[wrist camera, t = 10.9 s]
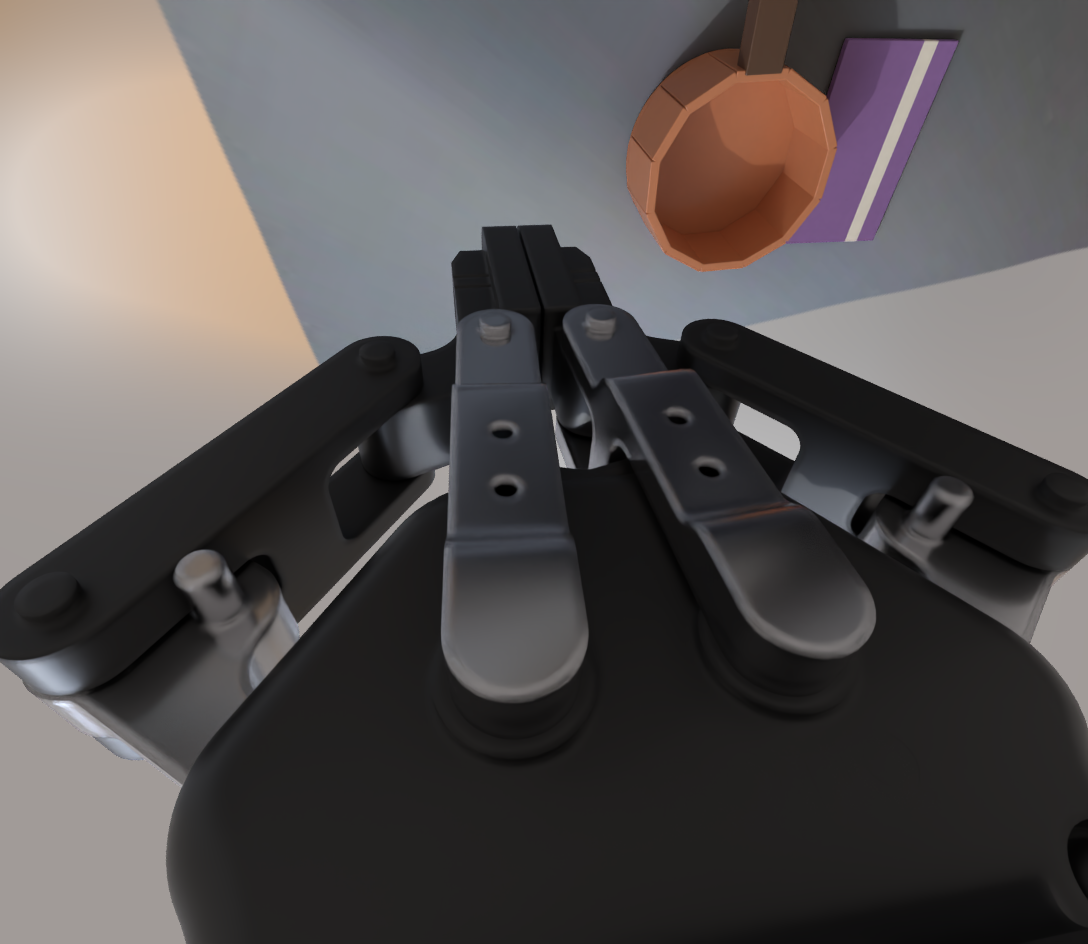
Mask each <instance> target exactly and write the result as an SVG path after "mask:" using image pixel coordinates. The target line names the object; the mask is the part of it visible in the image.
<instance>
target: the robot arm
mask: <svg viewBox="0 0 1088 944" xmlns="http://www.w3.org/2000/svg"><path fill="white" fill-rule="evenodd" d="M451 265H452V279H453V292H454V305H455V319H456V330H457V335H456V336H455V338H454V339H453V340H452V341H451V342H449V343H448V344H447V345H445V346H443V347H441V348H439V349H437V350H434V351H431V352H427V353H423V354H420V352H419V350H418V348H417V347H416V346H415V345H414V344H412V343H411V342H409V341H407V340H405V339H401V338H397V337H391V336H377V337H370V338H365V339H362V340H359V341H356V342H354V343H352V344H350V345H348V346H347V347H345V348H344V349H342V350H341V351H339V352H338V353H337V354H335V355H334V356H332V357H331V358H329V359H328V360H327V361H325V362H324V363H322V364H321V365H319V366H318V367H316V368H315V369H314V370H312V371H311V372H309V373H308V374H306V375H305V376H303V377H302V378H301V379H299V380H298V381H296V382H295V383H293V384H292V385H291V386H289V387H288V388H286V389H285V390H283V391H282V392H281V393H279V394H278V395H276V396H275V397H273V398H272V399H270V400H269V401H268V402H266V403H265V404H263V405H262V406H260V407H259V408H257V409H256V410H255V411H253V412H252V413H250V414H249V415H247V416H246V417H245V418H243V419H242V420H240V421H239V422H237V423H236V424H234V425H233V426H232V427H230V428H229V429H227V430H226V431H224V432H223V433H222V434H220V435H219V436H217V437H216V438H214V439H213V440H211V441H210V442H209V443H207V444H206V445H204V446H203V447H202V448H200V449H198V450H197V451H196V452H194V453H193V454H191V455H190V456H189V457H187V458H186V459H184V460H183V461H181V462H180V463H179V464H177V465H176V466H174V467H173V468H171V469H170V470H168V471H167V472H166V473H164V474H163V475H161V476H160V477H158V478H157V479H156V480H154V481H152V482H151V483H150V484H148V485H147V486H145V487H144V488H142V489H141V490H140V491H138V492H137V493H135V494H134V495H132V496H131V497H129V498H128V499H127V500H125V501H124V502H122V503H121V504H119V505H118V506H116V507H115V508H114V509H112V510H111V511H110V512H108V513H106V514H105V515H104V516H102V517H101V518H99V519H98V520H97V521H95V522H93V523H92V524H91V525H89V526H88V527H86V528H85V529H83V530H82V531H81V532H79V533H78V534H76V535H75V536H73V537H72V538H71V539H69V540H68V541H66V542H65V543H63V544H62V545H60V546H59V547H58V548H56V549H55V550H53V551H52V552H50V553H49V554H47V555H46V556H45V557H43V558H42V559H40V560H39V561H37V562H36V563H35V564H33V565H32V566H30V567H29V568H27V569H26V570H24V571H23V572H22V573H20V574H19V575H17V576H16V577H15V578H13V579H12V580H11V581H9V582H8V583H7V584H6V585H5V586H3V587H2V588H1V589H0V662H1V663H2V664H3V665H5V666H6V667H7V668H8V669H9V670H11V671H12V672H13V673H14V674H15V675H17V676H18V677H19V678H20V679H22V681H23V684H24V685H25V687H26V688H27V689H28V691H30V692H31V693H32V694H34V695H35V696H36V697H37V698H38V699H40V700H41V701H42V702H44V703H45V704H46V705H47V706H48V707H50V708H51V709H52V710H53V711H55V712H56V713H57V714H58V715H60V716H61V717H62V718H64V719H65V720H66V721H67V722H69V723H70V724H71V725H72V726H74V727H75V728H76V729H77V730H79V731H80V732H82V733H84V734H86V735H89V736H92V737H93V738H95V739H96V740H97V741H98V742H100V743H101V744H102V745H103V746H105V747H106V748H107V749H108V750H110V751H111V752H112V753H114V754H115V755H116V756H118V757H120V758H123V759H128V760H143V759H145V760H146V761H147V762H149V763H150V764H151V765H152V766H154V767H155V768H157V769H158V770H159V771H160V772H162V773H163V774H164V775H165V776H167V777H168V778H169V779H171V780H172V781H173V782H174V783H176V784H177V785H179V786H180V787H181V790H180V793H179V796H178V798H177V801H176V804H175V807H174V810H173V814H172V818H171V822H170V826H169V833H168V840H167V851H166V867H167V879H168V885H169V891H170V895H171V899H172V903H173V905H174V908H175V911H176V913H177V916H178V919H179V922H180V924H181V927H182V930H183V934H184V937H185V941H186V944H1088V728H1087V724H1086V721H1085V718H1084V716H1083V713H1082V711H1081V709H1080V707H1079V704H1078V702H1077V701H1076V699H1075V697H1074V695H1073V694H1072V692H1071V690H1070V689H1069V687H1068V685H1067V684H1066V683H1065V681H1064V680H1063V679H1062V677H1061V676H1060V675H1059V673H1058V672H1057V671H1056V669H1055V668H1054V667H1053V666H1052V665H1051V664H1050V663H1049V662H1048V661H1047V660H1046V658H1045V657H1044V656H1043V655H1042V654H1041V653H1039V652H1038V651H1037V650H1036V649H1035V648H1034V647H1033V646H1032V645H1031V644H1030V642H1031V639H1032V636H1033V633H1034V631H1035V628H1036V625H1037V623H1038V620H1039V617H1040V615H1041V612H1042V610H1043V607H1044V604H1045V602H1046V599H1047V596H1048V594H1049V591H1050V588H1051V586H1052V585H1054V584H1055V583H1056V582H1057V581H1058V580H1059V579H1060V578H1061V577H1062V576H1064V575H1065V574H1066V573H1067V572H1068V571H1069V570H1070V569H1071V568H1072V567H1073V566H1074V565H1076V564H1077V563H1078V562H1079V561H1080V560H1081V559H1082V558H1083V557H1085V555H1087V554H1088V479H1086V478H1084V477H1083V476H1081V475H1079V474H1077V473H1075V472H1073V471H1070V470H1068V469H1066V468H1064V467H1062V466H1059V465H1057V464H1055V463H1052V462H1050V461H1048V460H1046V459H1043V458H1041V457H1039V456H1037V455H1034V454H1032V453H1029V452H1027V451H1025V450H1023V449H1021V448H1018V447H1016V446H1014V445H1012V444H1009V443H1007V442H1005V441H1002V440H1000V439H998V438H996V437H993V436H991V435H989V434H986V433H984V432H982V431H980V430H977V429H975V428H973V427H971V426H968V425H966V424H964V423H962V422H959V421H957V420H955V419H952V418H950V417H948V416H946V415H943V414H941V413H938V412H936V411H934V410H932V409H930V408H927V407H925V406H923V405H920V404H918V403H916V402H914V401H911V400H909V399H907V398H905V397H902V396H900V395H898V394H896V393H893V392H891V391H889V390H886V389H884V388H882V387H879V386H877V385H875V384H873V383H871V382H868V381H866V380H864V379H861V378H859V377H857V376H855V375H852V374H850V373H848V372H846V371H843V370H841V369H839V368H836V367H834V366H832V365H830V364H827V363H825V362H823V361H820V360H818V359H816V358H814V357H811V356H809V355H807V354H805V353H802V352H800V351H798V350H796V349H793V348H791V347H789V346H786V345H784V344H782V343H779V342H777V341H775V340H773V339H770V338H768V337H766V336H764V335H761V334H759V333H757V332H755V331H752V330H750V329H748V328H746V327H743V326H741V325H739V324H736V323H733V322H730V321H725V320H719V319H702V320H697V321H694V322H692V323H690V324H688V325H687V326H686V327H685V328H684V329H683V332H682V336H681V340H680V341H675V340H668V339H661V338H654V337H649V336H646V335H645V334H644V332H643V331H642V329H641V328H640V326H639V324H638V323H637V321H636V320H635V319H634V317H633V316H632V315H631V314H629V313H628V312H626V311H624V310H622V309H620V308H617V307H614V306H612V304H611V301H610V299H609V297H608V295H607V293H606V291H605V289H604V286H603V284H602V282H600V278H599V276H598V274H597V272H596V269H595V267H594V265H593V263H592V261H591V259H590V257H589V256H587V255H586V254H585V253H583V252H582V251H581V250H579V249H578V248H577V247H560V245H559V242H558V240H557V237H556V235H555V232H554V230H553V227H552V225H523V226H518V227H517V228H516V226H494V227H482V250H477V251H460V252H459V253H458V254H457V256H456V257H455V258H454V260H453V261H452V263H451ZM740 403H743V404H745V405H747V406H749V407H751V408H753V409H755V410H757V411H759V412H761V413H763V414H765V415H767V416H769V417H771V418H773V419H775V420H777V421H779V422H780V423H782V424H784V425H787V426H788V427H790V428H791V429H792V430H793V431H794V432H795V433H796V434H797V436H798V438H799V441H800V451H799V454H798V455H797V458H796V460H795V461H793V460H791V459H789V458H787V457H785V456H783V455H782V454H780V453H778V452H776V451H774V450H772V449H770V448H768V447H767V446H764V445H763V444H761V443H759V442H757V441H755V440H753V439H751V438H750V437H748V436H746V435H744V434H742V433H740V432H738V431H737V430H736V429H735V427H734V426H733V424H734V421H735V418H736V415H737V412H738V409H739V406H740ZM551 410H555V411H556V415H557V416H556V431H555V433H554V426H553V420H552V413H551ZM555 436H556V439H557V443H558V445H559V448H560V451H561V453H562V456H563V459H564V461H565V463H566V466H567V468H562V467H560V466H559V460H558V453H557V446H556V440H555ZM357 447H358V448H359V452H358V453H357V454H356V455H355V456H354V457H353V458H351V459H350V460H349V461H348V462H347V463H346V464H345V465H344V466H342V467H341V468H340V469H339V470H338V471H337V472H335V473H334V474H333V475H332V476H331V474H332V472H333V470H334V469H335V467H336V466H337V465H338V463H339V462H340V461H342V460H343V459H344V458H345V457H346V456H347V455H348V454H350V453H351V452H352V451H353V450H354V449H356V448H357ZM447 465H449V493H446V494H444V495H441V496H439V497H438V498H436V499H434V500H432V501H430V502H428V503H427V504H425V505H424V506H422V507H421V508H419V509H418V510H416V511H415V512H414V513H413V514H412V515H411V516H409V517H408V518H407V519H406V520H405V521H404V522H403V523H402V524H401V525H400V526H399V527H398V528H397V530H395V532H394V533H393V534H392V535H391V536H390V537H389V538H388V539H387V541H386V542H385V543H384V544H383V545H382V546H381V547H380V548H379V550H378V551H377V552H376V553H375V554H374V555H373V556H372V557H371V559H370V560H369V561H368V562H367V563H366V564H365V565H364V567H363V568H362V569H361V570H360V571H359V572H358V573H357V574H356V575H355V577H354V578H353V579H352V580H351V581H350V582H349V583H348V584H347V586H346V587H345V588H344V589H343V590H342V591H341V592H340V594H339V595H338V596H337V597H336V598H335V599H334V600H333V601H332V603H331V604H330V605H329V606H328V607H327V608H326V609H325V610H324V612H323V613H322V614H321V615H320V616H319V617H318V618H317V620H316V621H315V622H314V623H313V624H312V625H311V626H310V627H309V628H308V630H307V631H306V632H305V633H304V634H303V635H302V636H301V637H300V639H299V628H298V625H297V624H298V623H299V622H300V621H301V620H302V618H303V617H304V616H305V615H306V614H307V613H308V612H309V611H310V610H311V609H312V608H313V607H314V606H315V605H316V604H317V603H318V602H319V601H320V600H321V599H322V598H323V597H324V596H325V594H327V593H328V591H329V590H330V589H331V588H332V587H333V586H334V585H335V584H336V583H337V582H338V581H339V580H340V579H341V578H342V577H343V576H344V575H345V574H346V573H347V572H348V571H349V570H350V569H351V568H352V567H353V565H354V564H355V563H356V562H357V561H358V560H359V559H360V558H361V557H362V556H363V555H364V554H365V553H366V552H367V551H368V550H369V549H370V548H371V547H372V546H373V545H374V544H375V543H376V542H377V541H378V540H379V538H380V537H381V536H382V535H383V534H384V533H385V532H386V531H387V530H388V529H389V528H390V527H391V526H392V525H393V524H394V523H395V522H396V521H397V520H398V519H399V518H400V517H401V515H403V514H404V512H405V511H406V510H407V509H408V508H409V507H410V506H411V505H412V504H413V503H414V502H415V501H416V500H417V499H418V498H419V497H420V496H421V495H422V494H423V493H424V492H425V491H426V490H427V489H428V488H429V486H430V485H431V483H432V482H433V480H434V477H435V470H436V469H439V468H441V467H444V466H447Z"/></svg>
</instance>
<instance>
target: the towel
mask: <svg viewBox="0 0 1088 944" xmlns="http://www.w3.org/2000/svg"><path fill="white" fill-rule="evenodd" d="M958 42H959V41H958V40H955V39H886V38H845V40H844V43H843V46H842V50H841V53H840V56H839V59H838V62H837V65H836V68H835V71H834V74H833V78H832V81H831V84H830V87H829V90H828V93H827V98H828V101H829V106H830V111H831V116H832V121H833V126H834V131H835V136H836V141H837V147H836V148H837V151H836V154H835V157H834V161H833V164H832V167H831V170H830V174H829V177H828V180H827V183H826V187H825V190H824V193H823V196H822V199H820V200H821V201H820V202H819V203H818V205H817V206H816V207H815V208H814V210H813V211H812V212H811V213H810V215H809V216H808V217H807V218H806V220H805V221H804V222H803V223H802V225H801V226H800V227H799V228H798V230H797V231H796V232H795V233H794V235H793V236H792V237H791V238H790V239H789V241H786V243H785V244H788V243H814V242H841V241H867V240H873V239H874V236H875V234H876V232H877V230H878V227H879V225H880V223H881V220H882V218H883V216H884V213H885V211H886V209H887V206H888V204H889V202H890V199H891V197H892V195H893V193H894V190H895V188H896V186H897V183H898V181H899V179H900V176H901V174H902V172H903V169H904V167H905V165H906V162H907V160H908V158H909V156H910V153H911V151H912V149H913V146H914V144H915V142H916V139H917V137H918V135H919V132H920V130H921V128H922V125H923V123H924V121H925V119H926V116H927V114H928V112H929V109H930V107H931V105H932V102H933V100H934V98H935V95H936V93H937V91H938V88H939V86H940V84H941V81H942V79H943V77H944V75H945V72H946V70H947V68H948V65H949V63H950V61H951V58H952V56H953V54H954V51H955V49H956V47H957V44H958Z"/></svg>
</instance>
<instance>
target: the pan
mask: <svg viewBox="0 0 1088 944" xmlns="http://www.w3.org/2000/svg"><path fill="white" fill-rule="evenodd" d="M797 4H798V0H749V3H748V8H747V14H746V19H745V25H744V30H743V36H742V41H741V47H740V49H729V48H728V49H721V50H715V51H712V52H708V53H705V54H702V55H700V56H698V57H696V58H693V59H691V60H690V61H688V62H686V63H685V64H683V65H682V66H680V67H679V68H677V69H676V70H675V71H674V72H672V73H671V74H670V75H669V76H668V77H667V78H666V79H665V80H664V81H663V82H662V83H661V84H660V85H659V86H658V87H657V88H656V90H655V91H654V92H653V93H652V94H651V96H650V97H649V99H648V100H647V102H646V103H645V105H644V107H643V108H642V110H641V112H640V114H639V116H638V118H637V120H636V122H635V125H634V128H633V130H632V133H631V137H630V141H629V145H628V151H627V158H626V173H627V186H628V187H627V188H628V190H629V192H630V194H631V197H632V199H633V202H634V204H635V205H636V207H637V209H638V211H639V213H640V215H641V217H642V219H643V221H644V223H645V225H646V226H647V228H648V229H649V231H650V232H651V234H652V235H653V237H654V238H655V240H656V242H657V243H658V245H659V246H660V248H661V249H662V251H663V252H664V253H665V254H666V255H668V256H670V257H672V258H674V259H676V260H678V261H680V262H682V263H683V264H685V265H687V266H689V267H691V268H693V269H695V270H697V271H701V272H704V271H715V270H726V269H737V268H743V266H744V267H746V266H748V265H749V264H751V263H753V262H754V261H756V260H758V259H760V258H761V257H763V256H765V255H766V254H768V253H770V252H772V251H773V250H775V249H777V248H778V247H780V246H782V245H784V244H785V243H786V241H789V239H790V238H791V237H792V236H793V235H794V233H795V232H796V231H797V230H798V228H799V227H800V226H801V225H802V223H803V222H804V221H805V220H806V218H807V217H808V216H809V215H810V213H811V212H812V211H813V210H814V208H815V207H816V206H817V205H818V203H819V202H820V201H821V200H820V199H822V196H823V193H824V190H825V187H826V183H827V180H828V177H829V174H830V170H831V167H832V164H833V161H834V157H835V154H836V151H837V148H836V147H837V141H836V136H835V131H834V126H833V121H832V116H831V111H830V106H829V101H828V98H827V96H826V95H825V94H823V93H822V92H821V91H819V90H818V89H817V88H816V87H814V86H813V85H812V84H811V83H809V82H808V81H807V80H806V79H804V78H803V77H802V76H801V75H799V74H798V73H797V72H796V71H794V70H793V69H792V68H790V67H788V66H786V65H784V61H785V56H786V52H787V48H788V43H789V39H790V35H791V30H792V26H793V21H794V17H795V13H796V8H797Z"/></svg>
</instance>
